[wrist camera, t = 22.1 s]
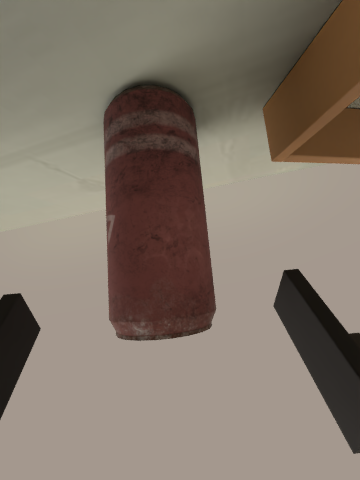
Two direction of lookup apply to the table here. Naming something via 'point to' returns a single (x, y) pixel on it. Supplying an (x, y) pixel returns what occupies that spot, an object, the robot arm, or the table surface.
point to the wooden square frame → (320, 97)
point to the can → (155, 218)
